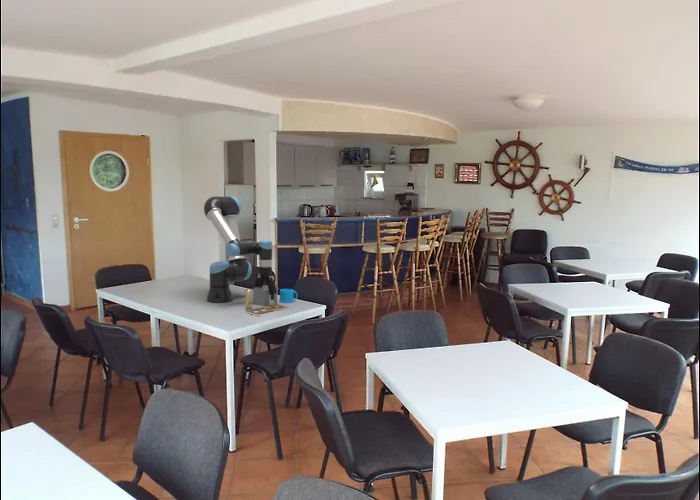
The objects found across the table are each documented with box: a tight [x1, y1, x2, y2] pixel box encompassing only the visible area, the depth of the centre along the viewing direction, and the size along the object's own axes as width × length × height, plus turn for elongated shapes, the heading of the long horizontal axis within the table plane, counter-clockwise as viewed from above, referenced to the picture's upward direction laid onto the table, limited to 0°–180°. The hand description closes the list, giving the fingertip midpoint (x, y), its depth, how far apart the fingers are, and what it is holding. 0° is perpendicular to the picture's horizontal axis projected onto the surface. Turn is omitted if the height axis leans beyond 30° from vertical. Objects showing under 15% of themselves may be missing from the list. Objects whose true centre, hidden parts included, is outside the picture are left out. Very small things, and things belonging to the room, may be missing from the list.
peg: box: [245, 288, 253, 310], centre depth 296 cm, size 3×3×12 cm
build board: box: [245, 306, 275, 318], centre depth 292 cm, size 11×11×2 cm
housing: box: [252, 285, 278, 307], centre depth 310 cm, size 10×10×10 cm
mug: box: [279, 288, 298, 304], centre depth 318 cm, size 12×8×8 cm
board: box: [261, 303, 292, 312], centre depth 301 cm, size 12×12×4 cm
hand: (265, 303), depth 310 cm, fingers closed on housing, 10 cm apart
